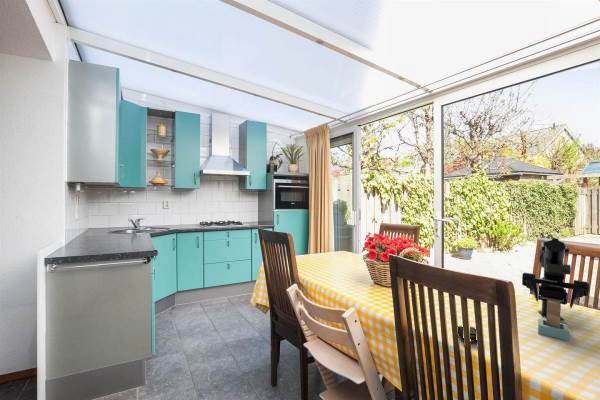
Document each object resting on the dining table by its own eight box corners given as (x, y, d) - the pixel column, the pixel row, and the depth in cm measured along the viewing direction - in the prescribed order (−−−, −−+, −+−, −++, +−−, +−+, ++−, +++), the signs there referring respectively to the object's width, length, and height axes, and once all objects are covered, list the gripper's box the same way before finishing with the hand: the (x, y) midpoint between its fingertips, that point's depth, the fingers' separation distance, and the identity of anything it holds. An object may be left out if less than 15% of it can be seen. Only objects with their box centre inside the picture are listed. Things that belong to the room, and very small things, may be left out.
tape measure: (454, 334, 101) (455, 323, 101) (476, 337, 100) (476, 326, 100) (461, 344, 95) (462, 332, 94) (485, 347, 93) (485, 335, 93)
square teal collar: (538, 326, 110) (538, 318, 110) (566, 332, 106) (567, 324, 105) (538, 333, 104) (538, 324, 104) (568, 340, 99) (569, 332, 99)
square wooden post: (545, 330, 107) (547, 299, 107) (558, 333, 105) (560, 302, 105) (546, 333, 105) (547, 302, 104) (559, 336, 102) (560, 304, 102)
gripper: (523, 251, 116) (521, 286, 107) (590, 259, 104) (593, 298, 96) (523, 268, 122) (521, 302, 114) (586, 277, 111) (588, 315, 102)
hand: (553, 304), depth 106 cm, fingers open, 9 cm apart
